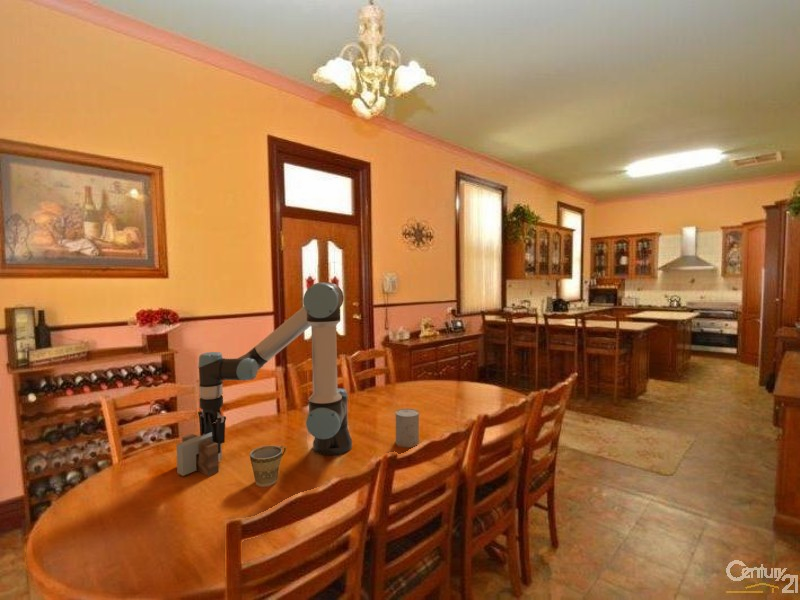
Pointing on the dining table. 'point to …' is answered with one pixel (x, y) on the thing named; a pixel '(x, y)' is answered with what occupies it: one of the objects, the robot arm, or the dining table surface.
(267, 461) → the ceramic cup
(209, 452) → the walnut upright
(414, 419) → the grey cylinder
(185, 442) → the grey arch block
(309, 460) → the dining table surface
